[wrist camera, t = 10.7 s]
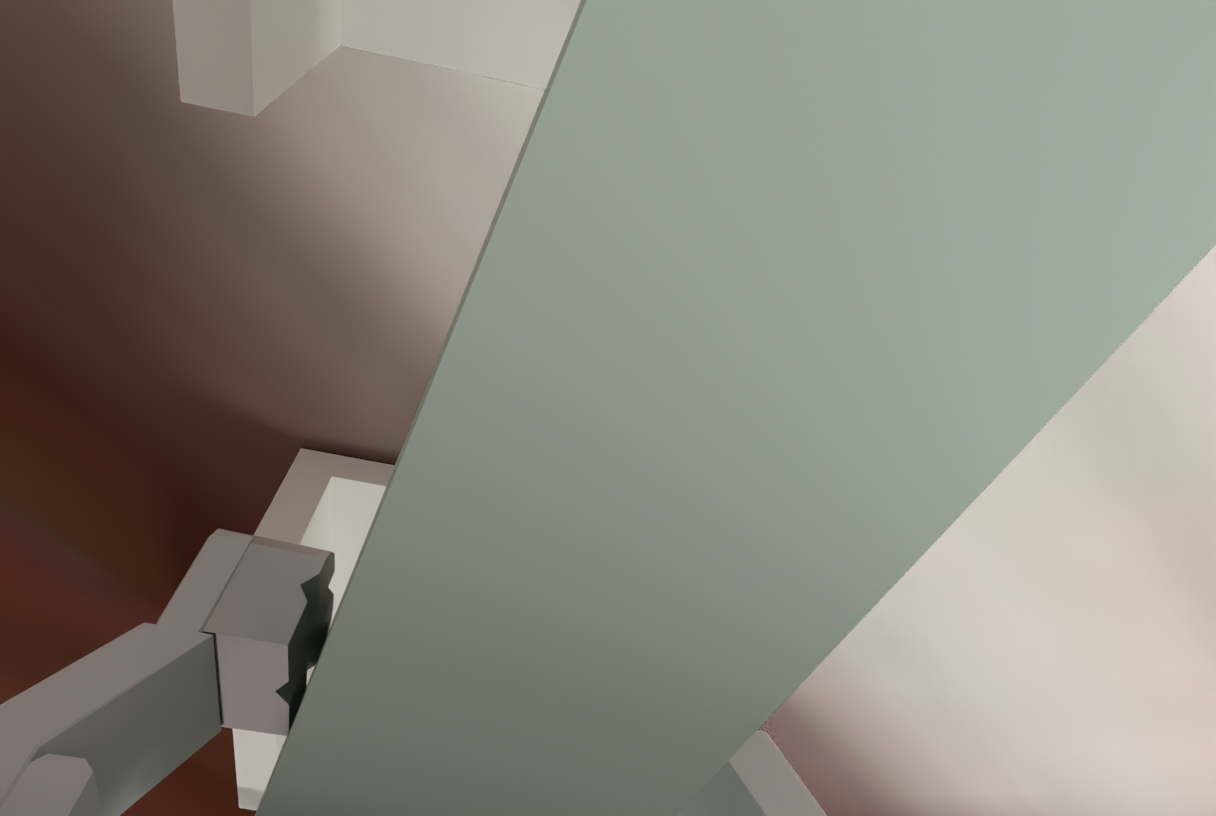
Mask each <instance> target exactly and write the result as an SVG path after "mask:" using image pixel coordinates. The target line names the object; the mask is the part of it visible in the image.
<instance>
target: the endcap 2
mask: <svg viewBox="0 0 1216 816" xmlns="http://www.w3.org/2000/svg"><path fill="white" fill-rule="evenodd" d="M394 466H395V465H390V464H384V463H379V462H373V461H368V460H363V459H357V458H352V457H346V456H341V455H335V454H330V453H325V452H319V451H314V450H308V449H303V448H301V449H300V451H299V452H298V454H297V456H296V458H295V460H294V462H293V463H292V465H291V467H290V469H289V471H288V473H287V475H286V476H285V478H284V480H283V482H282V484H281V486H280V487H279V489H278V491H277V493H276V495H275V497H274V498H273V500H272V502H271V504H270V506H269V508H268V509H267V511H266V513H265V515H264V517H263V519H262V521H261V522H260V524H259V526H258V528H257V530H256V532H255V533H254V535H253V536H260V537H265V538H270V539H274V540H279V541H284V542H289V543H293V544H298V545H303V546H308V547H312V548H317V549H322V550H327V551H331V552H333V553H335V572H334V574H333V576H332V579H331V581H330V584H329V586H328V587H329V589H330V590H331V591H332V592H333V594H334V603H333V612H332V618H331V624H332V621H333V619H334V616H335V614H336V611H337V609H338V606H339V604H340V601H341V599H342V596H343V594H344V591H345V589H346V586H347V584H348V581H349V579H350V576H351V574H352V571H353V569H354V566H355V564H356V561H357V559H358V556H359V554H360V551H361V549H362V546H363V544H364V541H365V539H366V536H367V534H368V531H369V529H370V526H371V524H372V521H373V519H374V516H375V514H376V511H377V509H378V506H379V504H380V501H381V499H382V496H383V494H384V491H385V489H386V486H387V484H388V481H389V479H390V476H391V474H392V471H393V469H394ZM331 624H330V626H331ZM329 629H330V628H329ZM313 669H314V666H313V667H312V668H310V669H309V670H308V671H307V684H308V681H309V679H310V676H311V674H312V671H313ZM285 739H286V736H283V735H276V734H269V733H262V732H255V731H248V730H241V729H234V728H233V740H234V752H235V764H236V777H237V789H238V801H239V808H244V809H250V810H256V811H257V809H258V806H259V804H260V801H261V799H262V796H263V794H264V791H265V789H266V786H267V784H268V781H269V779H270V776H271V774H272V771H273V769H274V766H275V764H276V761H277V759H278V756H279V754H280V751H281V749H282V746H283V744H284V741H285Z"/></svg>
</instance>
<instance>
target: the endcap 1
mask: <svg viewBox="0 0 1216 816" xmlns="http://www.w3.org/2000/svg"><path fill="white" fill-rule="evenodd" d="M580 2H581V0H172V3H173V15H174V27H175V39H176V51H177V64H178V76H179V88H180V100H181V102H184V103H189V104H193V105H198V106H203V107H208V108H213V109H217V110H222V111H227V112H232V113H237V114H241V115H246V116H251V117H255V116H256V115H257V114H259V113H260V112H261V111H262V110H263V109H265V108H266V107H267V106H268V105H269V104H271V103H272V102H273V101H274V100H275V99H277V98H278V97H279V96H280V95H281V94H283V93H284V92H285V91H286V90H288V89H289V88H290V87H291V86H292V85H294V84H295V83H296V82H297V81H298V80H300V79H301V78H302V77H303V76H304V75H306V74H307V73H308V72H309V71H310V70H312V69H313V68H314V67H315V66H317V65H318V64H319V63H320V62H321V61H323V60H324V59H325V58H326V57H327V56H329V55H330V54H331V53H332V52H333V51H335V50H336V49H337V48H338V47H339V46H344V47H348V48H353V49H358V50H362V51H367V52H372V53H376V54H381V55H386V56H390V57H395V58H399V59H404V60H409V61H413V62H418V63H423V64H427V65H432V66H437V67H441V68H446V69H450V70H455V71H460V72H464V73H469V74H474V75H478V76H483V77H488V78H492V79H497V80H501V81H506V82H511V83H515V84H520V85H525V86H529V87H534V88H539V89H543V90H545V89H546V86H547V84H548V81H549V79H550V76H551V74H552V71H553V69H554V66H555V64H556V61H557V59H558V56H559V54H560V51H561V49H562V46H563V44H564V41H565V39H566V36H567V34H568V31H569V29H570V26H571V24H572V21H573V19H574V17H575V14H576V12H577V9H578V7H579V4H580Z"/></svg>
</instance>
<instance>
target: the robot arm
mask: <svg viewBox="0 0 1216 816" xmlns="http://www.w3.org/2000/svg"><path fill="white" fill-rule="evenodd" d="M334 572H335V553H333V552H331V551H327V550H322V549H317V548H312V547H308V546H303V545H298V544H293V543H289V542H284V541H279V540H274V539H270V538H265V537H260V536H253V535H248V534H243V533H238V532H233V531H228V530H223V529H217V530H216V531H215V532H214V533H213V534H211V535H210V536H209V537H208V539H207V540H206V542H205V544H204V545H203V547H202V548H201V550H200V552H199V553H198V555H197V557H196V558H195V560H194V562H193V563H192V565H191V567H190V568H189V570H188V572H187V573H186V575H185V577H184V578H183V580H182V582H181V583H180V585H179V587H178V588H177V590H176V591H175V593H174V595H173V596H172V598H171V600H170V601H169V603H168V605H167V606H166V608H165V610H164V611H163V613H162V615H161V616H160V618H159V620H158V621H157V623H156V624H150V623H142V624H140V625H139V626H137V627H135V628H134V629H132V630H130V631H128V632H127V633H125V634H123V635H121V636H120V637H118V638H116V639H114V640H113V641H111V642H109V643H107V644H106V645H104V646H102V647H100V648H99V649H97V650H95V651H93V652H92V653H90V654H88V655H86V656H85V657H83V658H81V659H79V660H78V661H76V662H74V663H73V664H71V665H69V666H67V667H66V668H64V669H62V670H60V671H59V672H57V673H55V674H53V675H52V676H50V677H48V678H46V679H45V680H43V681H41V682H39V683H38V684H36V685H34V686H32V687H31V688H29V689H27V690H25V691H24V692H22V693H20V694H18V695H17V696H15V697H13V698H12V699H10V700H8V701H6V702H5V703H3V704H1V705H0V816H120V815H121V814H122V813H123V812H124V811H126V810H127V809H128V808H129V807H130V806H132V805H133V804H134V803H135V802H136V801H138V800H139V799H140V798H141V797H142V796H144V795H145V794H146V793H147V792H148V791H150V790H151V789H152V788H153V787H154V786H156V785H157V784H158V783H159V782H160V781H162V780H163V779H164V778H165V777H166V776H168V775H169V774H170V773H171V772H172V771H174V770H175V769H176V768H177V767H178V766H180V765H181V764H182V763H183V762H184V761H185V760H187V759H188V758H189V757H190V756H191V755H193V754H194V753H195V752H196V751H197V750H199V749H200V748H201V747H202V746H203V745H205V744H206V743H207V742H208V741H209V740H211V739H212V738H213V737H214V736H215V735H217V734H218V733H219V732H220V731H221V727H226V728H234V729H241V730H248V731H255V732H262V733H269V734H276V735H283V736H288V735H289V732H290V730H291V727H292V725H293V722H294V720H295V717H296V714H297V712H298V709H299V707H300V704H301V702H302V699H303V697H304V694H305V692H306V689H307V671H308V670H309V669H310V668H312V667H313V666H315V665H316V664H317V661H318V659H319V656H320V653H321V651H322V648H323V646H324V643H325V641H326V638H327V635H328V631H329V628H330V624H331V618H332V612H333V603H334V594H333V592H332V591H331V590H330V589H329V587H328V586H329V584H330V581H331V579H332V576H333V574H334ZM677 816H827V815H826V814H825V812H824V811H823V809H822V808H821V807H820V805H819V804H818V803H817V801H816V800H815V798H814V797H813V796H812V794H811V793H810V792H809V790H808V789H807V787H806V786H805V785H804V783H803V782H802V781H801V779H800V778H799V776H798V775H797V774H796V772H795V771H794V769H793V768H792V767H791V765H790V764H789V763H788V761H787V760H786V758H785V757H784V756H783V754H782V753H781V752H780V750H779V749H778V747H777V746H776V745H775V743H774V742H773V740H772V739H771V738H770V736H769V735H768V734H767V732H764V731H759V730H757V731H756V732H755V733H754V734H753V735H752V736H751V737H750V738H749V739H748V740H747V741H746V742H745V743H744V745H743V746H742V747H741V748H740V749H739V750H738V751H737V752H736V753H735V754H734V755H733V756H732V757H731V758H730V759H729V760H728V762H727V763H726V764H725V765H724V766H723V767H722V768H721V769H720V770H719V771H718V772H717V773H716V774H715V775H714V776H713V777H712V778H711V780H710V781H709V782H708V783H707V784H706V785H705V786H704V787H703V788H702V789H701V790H700V791H699V792H698V793H697V794H696V795H695V796H694V798H693V799H692V800H691V801H690V802H689V803H688V804H687V805H686V806H685V807H684V808H683V809H682V810H681V811H680V812H679V813H678V814H677Z"/></svg>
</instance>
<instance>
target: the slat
mask: <svg viewBox="0 0 1216 816" xmlns="http://www.w3.org/2000/svg"><path fill="white" fill-rule="evenodd" d="M1215 245H1216V0H581V2H580V4H579V7H578V9H577V12H576V14H575V17H574V19H573V21H572V24H571V26H570V29H569V31H568V34H567V36H566V39H565V41H564V44H563V46H562V49H561V51H560V54H559V56H558V59H557V61H556V64H555V66H554V69H553V71H552V74H551V76H550V79H549V81H548V84H547V86H546V89H545V91H544V94H543V96H542V99H541V101H540V104H539V106H538V109H537V111H536V114H535V116H534V119H533V121H532V124H531V126H530V129H529V131H528V134H527V136H526V139H525V141H524V144H523V146H522V149H521V151H520V154H519V156H518V159H517V161H516V164H515V166H514V169H513V171H512V174H511V176H510V179H509V181H508V184H507V186H506V189H505V191H504V194H503V196H502V199H501V201H500V204H499V206H498V209H497V211H496V214H495V216H494V219H493V221H492V224H491V226H490V229H489V231H488V234H487V236H486V239H485V241H484V244H483V246H482V249H481V251H480V254H479V256H478V259H477V261H476V264H475V266H474V269H473V271H472V274H471V276H470V279H469V281H468V284H467V286H466V289H465V291H464V294H463V296H462V299H461V301H460V304H459V306H458V309H457V311H456V314H455V316H454V319H453V321H452V324H451V326H450V329H449V331H448V334H447V336H446V339H445V341H444V344H443V346H442V349H441V351H440V354H439V356H438V359H437V361H436V364H435V366H434V369H433V371H432V374H431V376H430V379H429V381H428V384H427V386H426V389H425V391H424V394H423V396H422V399H421V401H420V404H419V406H418V409H417V411H416V414H415V416H414V419H413V421H412V424H411V426H410V429H409V431H408V434H407V436H406V439H405V441H404V444H403V446H402V449H401V451H400V454H399V456H398V459H397V461H396V464H395V466H394V469H393V471H392V474H391V476H390V479H389V481H388V484H387V486H386V489H385V491H384V494H383V496H382V499H381V501H380V504H379V506H378V509H377V511H376V514H375V516H374V519H373V521H372V524H371V526H370V529H369V531H368V534H367V536H366V539H365V541H364V544H363V546H362V549H361V551H360V554H359V556H358V559H357V561H356V564H355V566H354V569H353V571H352V574H351V576H350V579H349V581H348V584H347V586H346V589H345V591H344V594H343V596H342V599H341V601H340V604H339V606H338V609H337V611H336V614H335V616H334V619H333V621H332V624H331V626H330V629H329V631H328V635H327V638H326V641H325V643H324V646H323V648H322V651H321V653H320V656H319V659H318V661H317V664H316V665H315V666H314V669H313V671H312V674H311V676H310V679H309V681H308V684H307V689H306V692H305V694H304V697H303V699H302V702H301V704H300V707H299V709H298V712H297V714H296V717H295V720H294V722H293V725H292V727H291V730H290V732H289V735H288V736H286V739H285V741H284V744H283V746H282V749H281V751H280V754H279V756H278V759H277V761H276V764H275V766H274V769H273V771H272V774H271V776H270V779H269V781H268V784H267V786H266V789H265V791H264V794H263V796H262V799H261V801H260V804H259V806H258V809H257V811H256V814H255V816H677V814H678V813H679V812H680V811H681V810H682V809H683V808H684V807H685V806H686V805H687V804H688V803H689V802H690V801H691V800H692V799H693V798H694V796H695V795H696V794H697V793H698V792H699V791H700V790H701V789H702V788H703V787H704V786H705V785H706V784H707V783H708V782H709V781H710V780H711V778H712V777H713V776H714V775H715V774H716V773H717V772H718V771H719V770H720V769H721V768H722V767H723V766H724V765H725V764H726V763H727V762H728V760H729V759H730V758H731V757H732V756H733V755H734V754H735V753H736V752H737V751H738V750H739V749H740V748H741V747H742V746H743V745H744V743H745V742H746V741H747V740H748V739H749V738H750V737H751V736H752V735H753V734H754V733H755V732H756V731H757V730H758V729H759V728H760V727H761V725H762V724H763V723H764V722H765V721H766V720H767V719H768V718H769V717H770V716H771V715H772V714H773V713H774V712H775V711H776V710H777V709H778V707H779V706H780V705H781V704H782V703H783V702H784V701H785V700H786V699H787V698H788V697H789V696H790V695H791V694H792V693H793V692H794V691H795V689H796V688H797V687H798V686H799V685H800V684H801V683H802V682H803V681H804V680H805V679H806V678H807V677H808V676H809V675H810V674H811V673H812V671H813V670H814V669H815V668H816V667H817V666H818V665H819V664H820V663H821V662H822V661H823V660H824V659H825V658H826V657H827V656H828V655H829V653H830V652H831V651H832V650H833V649H834V648H835V647H836V646H837V645H838V644H839V643H840V642H841V641H842V640H843V639H844V638H845V637H846V635H847V634H848V633H849V632H850V631H851V630H852V629H853V628H854V627H855V626H856V625H857V624H858V623H859V622H860V621H861V620H862V619H863V617H864V616H865V615H866V614H867V613H868V612H869V611H870V610H871V609H872V608H873V607H874V606H875V605H876V604H877V603H878V602H879V601H880V599H881V598H882V597H883V596H884V595H885V594H886V593H887V592H888V591H889V590H890V589H891V588H892V587H893V586H894V585H895V584H896V583H897V581H898V580H899V579H900V578H901V577H902V576H903V575H904V574H905V573H906V572H907V571H908V570H909V569H910V568H911V567H912V566H913V565H914V563H915V562H916V561H917V560H918V559H919V558H920V557H921V556H922V555H923V554H924V553H925V552H926V551H927V550H928V549H929V548H930V547H931V545H932V544H933V543H934V542H935V541H936V540H937V539H938V538H939V537H940V536H941V535H942V534H943V533H944V532H945V531H946V530H947V529H948V527H949V526H950V525H951V524H952V523H953V522H954V521H955V520H956V519H957V518H958V517H959V516H960V515H961V514H962V513H963V512H964V511H965V509H966V508H967V507H968V506H969V505H970V504H971V503H972V502H973V501H974V500H975V499H976V498H977V497H978V496H979V495H980V494H981V493H982V491H983V490H984V489H985V488H986V487H987V486H988V485H989V484H990V483H991V482H992V481H993V480H994V479H995V478H996V477H997V476H998V475H999V473H1000V472H1001V471H1002V470H1003V469H1004V468H1005V467H1006V466H1007V465H1008V464H1009V463H1010V462H1011V461H1012V460H1013V459H1014V458H1015V457H1016V455H1017V454H1018V453H1019V452H1020V451H1021V450H1022V449H1023V448H1024V447H1025V446H1026V445H1027V444H1028V443H1029V442H1030V441H1031V440H1032V439H1033V437H1034V436H1035V435H1036V434H1037V433H1038V432H1039V431H1040V430H1041V429H1042V428H1043V427H1044V426H1045V425H1046V424H1047V423H1048V422H1049V421H1050V419H1051V418H1052V417H1053V416H1054V415H1055V414H1056V413H1057V412H1058V411H1059V410H1060V409H1061V408H1062V407H1063V406H1064V405H1065V404H1066V403H1067V401H1068V400H1069V399H1070V398H1071V397H1072V396H1073V395H1074V394H1075V393H1076V392H1077V391H1078V390H1079V389H1080V388H1081V387H1082V386H1083V385H1084V383H1085V382H1086V381H1087V380H1088V379H1089V378H1090V377H1091V376H1092V375H1093V374H1094V373H1095V372H1096V371H1097V370H1098V369H1099V368H1100V367H1101V365H1102V364H1103V363H1104V362H1105V361H1106V360H1107V359H1108V358H1109V357H1110V356H1111V355H1112V354H1113V353H1114V352H1115V351H1116V350H1117V349H1118V347H1119V346H1120V345H1121V344H1122V343H1123V342H1124V341H1125V340H1126V339H1127V338H1128V337H1129V336H1130V335H1131V334H1132V333H1133V332H1134V331H1135V329H1136V328H1137V327H1138V326H1139V325H1140V324H1141V323H1142V322H1143V321H1144V320H1145V319H1146V318H1147V317H1148V316H1149V315H1150V314H1151V313H1152V311H1153V310H1154V309H1155V308H1156V307H1157V306H1158V305H1159V304H1160V303H1161V302H1162V301H1163V300H1164V299H1165V298H1166V297H1167V296H1168V295H1169V293H1170V292H1171V291H1172V290H1173V289H1174V288H1175V287H1176V286H1177V285H1178V284H1179V283H1180V282H1181V281H1182V280H1183V279H1184V278H1185V277H1186V275H1187V274H1188V273H1189V272H1190V271H1191V270H1192V269H1193V268H1194V267H1195V266H1196V265H1197V264H1198V263H1199V262H1200V261H1201V260H1202V259H1203V257H1204V256H1205V255H1206V254H1207V253H1208V252H1209V251H1210V250H1211V249H1212V248H1213V247H1214V246H1215Z"/></svg>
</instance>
